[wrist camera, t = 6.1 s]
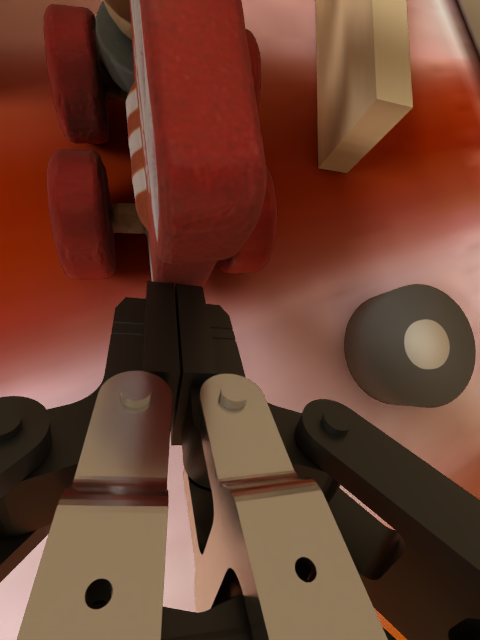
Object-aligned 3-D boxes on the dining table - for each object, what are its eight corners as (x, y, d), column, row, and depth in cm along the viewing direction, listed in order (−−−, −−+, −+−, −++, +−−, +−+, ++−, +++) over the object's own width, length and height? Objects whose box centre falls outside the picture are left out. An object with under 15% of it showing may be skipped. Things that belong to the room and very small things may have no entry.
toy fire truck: (226, 51, 17) (345, -407, 7) (255, 318, 15) (463, 209, 6) (60, 29, 15) (-92, -635, 5) (74, 330, 14) (-107, 198, 4)
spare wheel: (329, 311, 16) (356, 301, 14) (416, 282, 18) (453, 269, 16) (367, 421, 16) (401, 427, 14) (453, 382, 18) (496, 383, 15)
